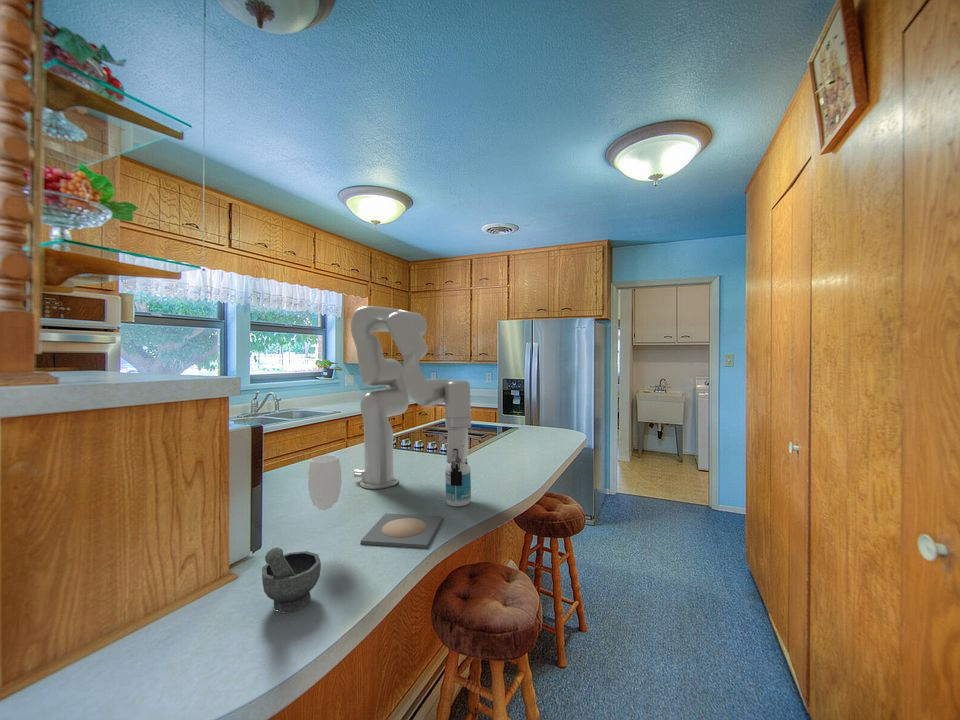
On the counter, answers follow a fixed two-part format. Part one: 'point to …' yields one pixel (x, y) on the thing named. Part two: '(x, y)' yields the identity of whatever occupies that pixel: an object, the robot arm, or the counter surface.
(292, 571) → the mortar and pestle
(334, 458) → the cup
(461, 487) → the pill bottle
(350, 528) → the counter surface
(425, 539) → the rest mat
